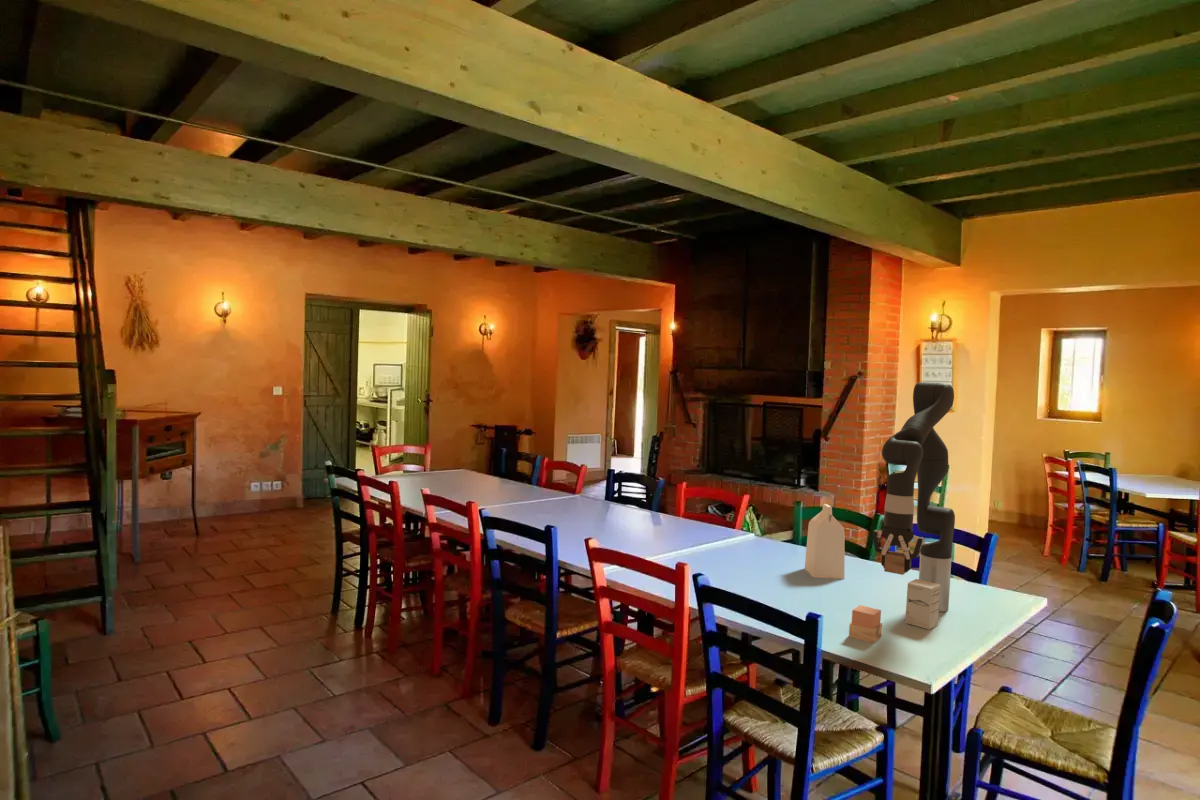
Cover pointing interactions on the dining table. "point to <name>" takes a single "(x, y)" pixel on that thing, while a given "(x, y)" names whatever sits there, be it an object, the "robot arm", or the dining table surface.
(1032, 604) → the dining table surface
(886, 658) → the dining table surface
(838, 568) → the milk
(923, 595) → the supplement box
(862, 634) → the tower base
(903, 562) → the walnut cube
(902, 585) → the dining table surface
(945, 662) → the dining table surface
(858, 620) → the tower
